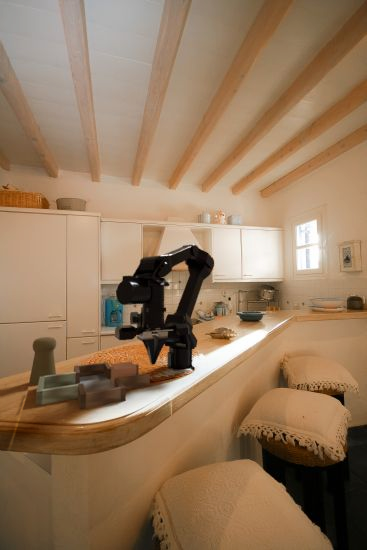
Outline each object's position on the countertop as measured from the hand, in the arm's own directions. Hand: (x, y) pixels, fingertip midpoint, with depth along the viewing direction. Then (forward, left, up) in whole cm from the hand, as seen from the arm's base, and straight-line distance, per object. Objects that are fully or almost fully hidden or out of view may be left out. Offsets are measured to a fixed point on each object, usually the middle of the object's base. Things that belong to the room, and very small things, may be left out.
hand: (152, 364), depth 64 cm
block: (+8, 0, -3) cm, 8 cm away
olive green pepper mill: (+25, -10, -4) cm, 27 cm away
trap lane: (+14, 0, -4) cm, 14 cm away
